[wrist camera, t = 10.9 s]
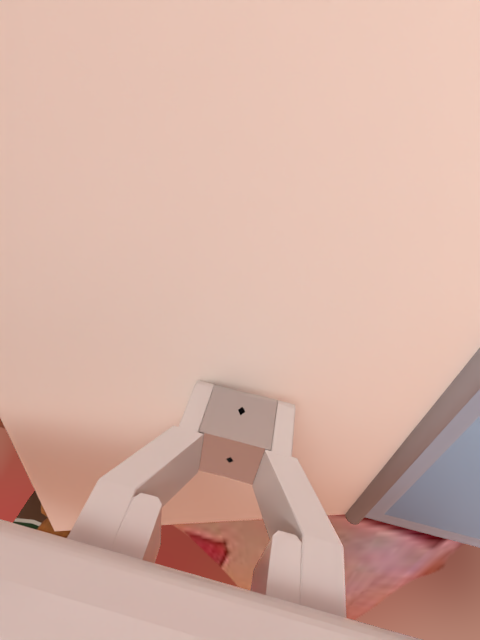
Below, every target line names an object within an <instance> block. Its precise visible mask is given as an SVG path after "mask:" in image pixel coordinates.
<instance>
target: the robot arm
mask: <svg viewBox="0 0 480 640" xmlns="http://www.w3.org/2000/svg"><path fill="white" fill-rule="evenodd" d="M295 409H296V408H295V405H294V404H291V403H287V402H283V401H279V400H276V399H272V398H268V397H264V396H259V395H255V394H251V393H247V392H241V391H237V390H234V389H230V388H227V387H223V386H219V385H216V384H212V383H208V382H204V381H201V380H198V381H197V382H196V384H195V386H194V388H193V391H192V393H191V396H190V398H189V401H188V403H187V406H186V408H185V411H184V414H183V416H182V419H181V421H180V424H179V426H178V427H177V426H172V427H171V428H169V429H168V430H166V431H165V432H164V433H162V434H161V435H160V436H158V437H157V438H155V439H154V440H153V441H151V442H150V443H148V444H147V445H146V446H144V447H143V448H141V449H140V450H139V451H137V452H136V453H134V454H133V455H132V456H130V457H129V458H127V459H126V460H125V461H123V462H122V463H120V464H119V465H118V466H116V467H115V468H114V469H112V470H111V471H109V472H108V473H107V474H105V475H104V476H102V477H101V478H100V479H99V480H98V481H97V483H96V485H95V487H94V489H93V491H92V493H91V494H90V496H89V498H88V500H87V502H86V504H85V506H84V507H83V509H82V511H81V513H80V515H79V517H78V519H77V520H76V522H75V524H74V526H73V528H72V530H71V532H70V533H69V535H68V537H67V538H64V537H61V536H57V535H53V534H50V533H46V532H43V531H39V530H36V529H32V528H29V527H25V526H22V525H18V524H15V523H11V522H8V521H4V520H1V519H0V640H422V639H418V638H415V637H411V636H408V635H404V634H401V633H397V632H394V631H390V630H386V629H383V628H380V627H376V626H373V625H369V624H366V623H362V622H359V621H355V620H352V619H348V618H346V596H345V572H344V549H343V545H342V543H341V541H340V539H339V537H338V535H337V534H336V532H335V530H334V528H333V526H332V524H331V522H330V520H329V518H328V516H327V514H326V512H325V511H324V509H323V507H322V505H321V503H320V501H319V499H318V497H317V495H316V493H315V491H314V489H313V487H312V486H311V484H310V482H309V480H308V478H307V476H306V474H305V472H304V470H303V468H302V466H301V464H300V463H299V461H298V459H297V458H295V457H292V449H293V436H294V422H295ZM198 470H199V471H203V472H207V473H212V474H216V475H220V476H224V477H228V478H231V479H234V480H238V481H241V482H245V483H248V484H251V485H253V486H252V487H253V490H254V493H255V496H256V499H257V502H258V506H259V509H260V512H261V515H262V518H263V521H264V524H265V527H266V530H267V533H268V536H269V539H270V541H269V543H268V545H267V547H266V548H265V550H264V552H263V554H262V556H261V558H260V559H259V561H258V563H257V565H256V567H255V568H254V571H253V578H252V585H251V591H250V590H246V589H243V588H239V587H236V586H232V585H229V584H225V583H222V582H218V581H215V580H211V579H208V578H204V577H200V576H197V575H194V574H190V573H187V572H183V571H179V570H176V569H173V568H169V567H166V566H162V565H159V564H155V560H156V557H157V554H158V551H159V548H160V544H161V517H162V507H163V506H164V505H165V504H166V503H167V502H168V501H169V500H171V499H172V498H173V497H174V496H175V495H176V494H177V493H178V492H179V491H180V490H181V489H182V488H183V487H184V486H185V485H186V484H187V483H188V482H189V481H190V480H191V479H192V478H193V477H194V476H195V475H196V474H197V473H198Z"/></svg>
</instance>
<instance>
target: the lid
mask: <svg viewBox="0 0 480 640" xmlns="http://www.w3.org/2000/svg"><path fill="white" fill-rule="evenodd" d="M198 380H201V381H204V382H208V383H212V384H216V385H219V386H223V387H227V388H230V389H234V390H237V391H241V392H247V393H251V394H255V395H259V396H264V397H268V398H272V399H276V400H279V401H283V402H287V403H291V404H294V405H295V408H296V409H295V422H294V436H293V449H292V457H295V458H297V459H298V461H299V463H300V464H301V466H302V468H303V470H304V472H305V474H306V476H307V478H308V480H309V482H310V484H311V486H312V487H313V489H314V491H315V493H316V495H317V497H318V499H319V501H320V503H321V505H322V507H323V509H324V511H325V512H326V514H327V515H343V514H345V516H346V519H347V520H348V521H349V522H350V523H351V524H354V525H356V524H359V523H360V521H361V520H362V519H363V518H364V517H365V516H366V515H367V514H368V513H369V511H370V510H371V509H372V508H373V507H374V506H375V505H376V504H377V503H378V501H379V500H380V499H381V498H382V497H383V496H384V495H385V494H386V493H387V491H388V490H389V489H390V488H391V487H392V486H393V485H394V484H395V483H396V481H397V480H398V479H399V478H400V477H401V476H402V475H403V474H404V473H405V471H406V470H407V469H408V468H409V467H410V466H411V465H412V464H413V463H414V461H415V460H416V459H417V458H418V457H419V456H420V455H421V454H422V453H423V451H424V450H425V449H426V448H427V447H428V446H429V445H430V444H431V443H432V441H433V440H434V439H435V438H436V437H437V436H438V435H439V434H440V433H441V431H442V430H443V429H444V428H445V427H446V426H447V425H448V424H449V423H450V422H451V420H452V419H453V418H454V417H455V416H456V415H457V414H458V413H459V412H460V410H461V409H462V408H463V407H464V406H465V405H466V404H467V403H468V402H469V400H470V399H471V398H472V397H473V396H474V395H475V394H476V393H477V392H478V390H479V389H480V0H0V419H1V421H2V423H3V425H4V427H5V429H6V431H7V433H8V435H9V437H10V439H11V441H12V444H13V446H14V448H15V450H16V452H17V454H18V456H19V458H20V460H21V462H22V464H23V466H24V469H25V471H26V473H27V475H28V477H29V479H30V481H31V483H32V485H33V487H34V489H35V491H36V494H37V496H38V498H39V500H40V502H41V504H42V506H43V508H44V510H45V512H46V514H47V517H48V519H49V521H50V523H51V525H52V527H53V529H54V531H70V530H72V528H73V526H74V524H75V522H76V520H77V519H78V517H79V515H80V513H81V511H82V509H83V507H84V506H85V504H86V502H87V500H88V498H89V496H90V494H91V493H92V491H93V489H94V487H95V485H96V483H97V481H98V480H99V479H100V478H101V477H102V476H104V475H105V474H107V473H108V472H109V471H111V470H112V469H114V468H115V467H116V466H118V465H119V464H120V463H122V462H123V461H125V460H126V459H127V458H129V457H130V456H132V455H133V454H134V453H136V452H137V451H139V450H140V449H141V448H143V447H144V446H146V445H147V444H148V443H150V442H151V441H153V440H154V439H155V438H157V437H158V436H160V435H161V434H162V433H164V432H165V431H166V430H168V429H169V428H171V427H172V426H177V427H178V426H179V424H180V421H181V419H182V416H183V414H184V411H185V408H186V406H187V403H188V401H189V398H190V396H191V393H192V391H193V388H194V386H195V384H196V382H197V381H198ZM252 486H253V485H251V484H248V483H245V482H241V481H238V480H234V479H231V478H228V477H224V476H220V475H216V474H212V473H207V472H203V471H199V470H198V473H197V474H196V475H195V476H194V477H193V478H192V479H191V480H190V481H189V482H188V483H187V484H186V485H185V486H184V487H183V488H182V489H181V490H180V491H179V492H178V493H177V494H176V495H175V496H174V497H173V498H172V499H171V500H169V501H168V502H167V503H166V504H165V505H164V506H163V507H162V517H161V525H172V524H189V523H206V522H223V521H241V520H258V519H263V518H262V515H261V512H260V509H259V506H258V502H257V499H256V496H255V493H254V490H253V487H252Z"/></svg>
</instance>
